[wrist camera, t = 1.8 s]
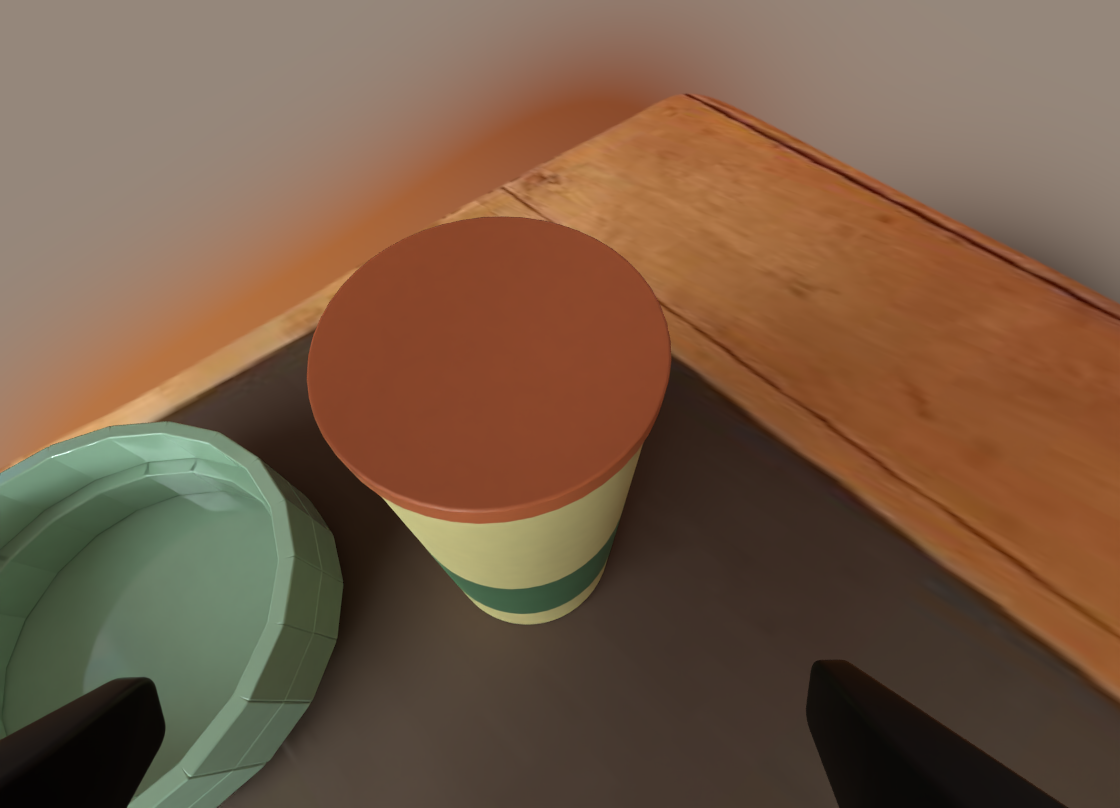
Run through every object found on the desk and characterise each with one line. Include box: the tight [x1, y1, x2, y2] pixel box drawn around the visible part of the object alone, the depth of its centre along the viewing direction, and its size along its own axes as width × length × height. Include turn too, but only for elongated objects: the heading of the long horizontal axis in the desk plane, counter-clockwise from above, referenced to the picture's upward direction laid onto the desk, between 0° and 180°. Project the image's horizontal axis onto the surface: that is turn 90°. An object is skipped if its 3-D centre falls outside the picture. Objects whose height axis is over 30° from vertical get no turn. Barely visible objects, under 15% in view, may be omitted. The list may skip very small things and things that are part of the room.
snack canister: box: [307, 217, 671, 625], centre depth 14 cm, size 6×6×13 cm
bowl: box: [0, 421, 343, 808], centre depth 16 cm, size 12×12×4 cm
